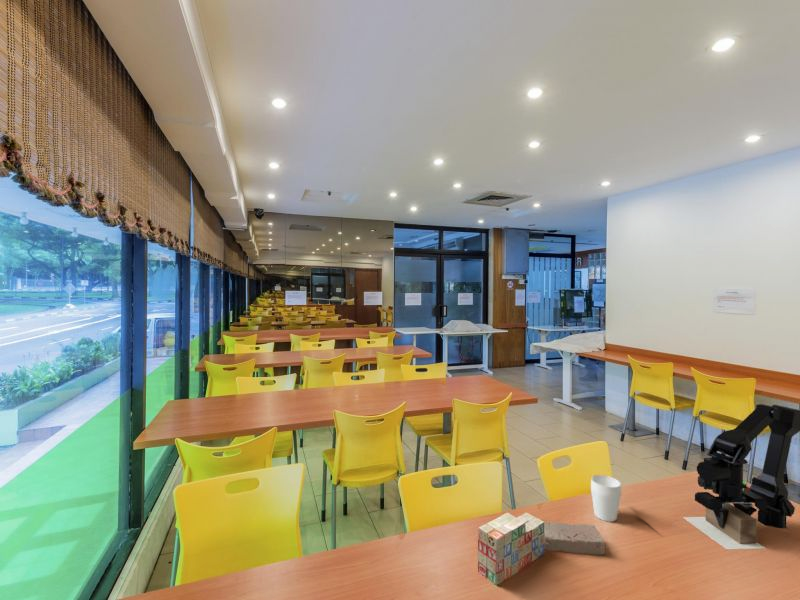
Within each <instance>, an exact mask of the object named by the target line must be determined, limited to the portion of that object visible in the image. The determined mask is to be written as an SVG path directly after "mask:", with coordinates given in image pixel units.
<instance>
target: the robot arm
mask: <svg viewBox="0 0 800 600" xmlns="http://www.w3.org/2000/svg"><path fill="white" fill-rule="evenodd" d="M767 427H769V429H770V434H769V439H768V443H767V448H766V453H765V458H764V461H763V462H764V463H763V467H762V471H761V474H760V475H758V476H756V477H755V476H754V477H752V479H751V484H750V485H749V488H750V491H743V488H747V486H748V484H747V485H745V484H743V480H744V465H748V463H749V462H748V460H747V459H746V458H747V457H748V455H749V454H750V452H751V451H752V442H753V441H754V440H755V439H756V438H757V437H758V436H760V434H761V433H762V432H763V431H764V430H765V429H766V428H767ZM799 432H800V409H797V408H793V407H788V406H784V405H780V404H779V405H778V404H772V405H767V404H764V403H761V404H760V403H759V404H756V405H755V407H754V410H753V411H752V412H751V413H749V414H748V415H747V417H745V418H744V420H742V421H741V422H740V423H739V424H738V425H737V426H736V427H735V428H733V429H729V430H725V431H723V432H721V433H720V434H718V435H717V436H716V437H715V439H713V442H712V443H711V445H710V448H709V449H708V451H707V454H706V455H707V456H709V457H703V461H700V462H699V463H698V464H697V465H696V472H697V474H698V477H697V484H698V486H699V487H700V488H703V490H711V491H712V493H714V494H715V495H716V496H715V495H713V494H712V493H710V492H709V491H697V492H695V493H694V501H696V502H697V503H699V504H700V505H701V506H703V507H705V509H706V508H708V509H710V510H713V512H714V514H715V516H716V519H717V521H718V524H719V526H720V527H721V528H724V526H725V524H726V520H727V516H728V513H729V511H728V510H727V509H725V504H727V503H729V504H732V506H734V507H736V508H737V509H739V510H741V511H743V512H744V513H746V514H748V515H749V516H751V517H752V515H753V514H754V513H756V512H757V522H758V523H760V524H762V525H764V526H765V527H772V528H774V529H775V528H776V529H784V528H785V529H787V530H788V531H791V532H792V530H790V529H788V528H787V517H792V516H793V515H794V514H795V511H796V510H795V509H796V508H795V506H794V505H793V504H792V502H791V501H790V499H788V495H789V491H788V488H787V487H786V485H785V483H784V477H785V473H786V466H787V462H788V457H789V453H790V448H791V443H792V438H793V437H794V436H795V435H797V434H798V433H799ZM717 495H718V496H717ZM753 504H754V506H755V507H756V508H755V507H754V506H753Z"/></svg>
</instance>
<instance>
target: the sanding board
mask: <svg viewBox="0 0 800 600" xmlns="http://www.w3.org/2000/svg"><path fill="white" fill-rule="evenodd" d="M682 518H683V519H684V520H686V521H687V522H688V523H689V524H691V525H692V526H694V527H695V528H696V529H698V530H700V531H701V533H704V535H706V536H708V537H709V538H710V539H712V540H713V541H715V542H716V543H717V544H719V545H720V546H721V547H723V548H724V549H726V550H751V549H752V550H755V549H756V550H758V549H764V550H765V549H766V547H765V546H763V545H762V544H760V543H759V542H758V541H756V543H746V544H740V543H739V542H737V541H736V540H734V539H733V538H731V537H730V536H728V535H727V534H725V533H724V532H722V531H721V530H719V529H718V528H716V527H715V526H713V525H712V524H710V523H709V522H707V521H706V516H686V517H685V516H682Z"/></svg>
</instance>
